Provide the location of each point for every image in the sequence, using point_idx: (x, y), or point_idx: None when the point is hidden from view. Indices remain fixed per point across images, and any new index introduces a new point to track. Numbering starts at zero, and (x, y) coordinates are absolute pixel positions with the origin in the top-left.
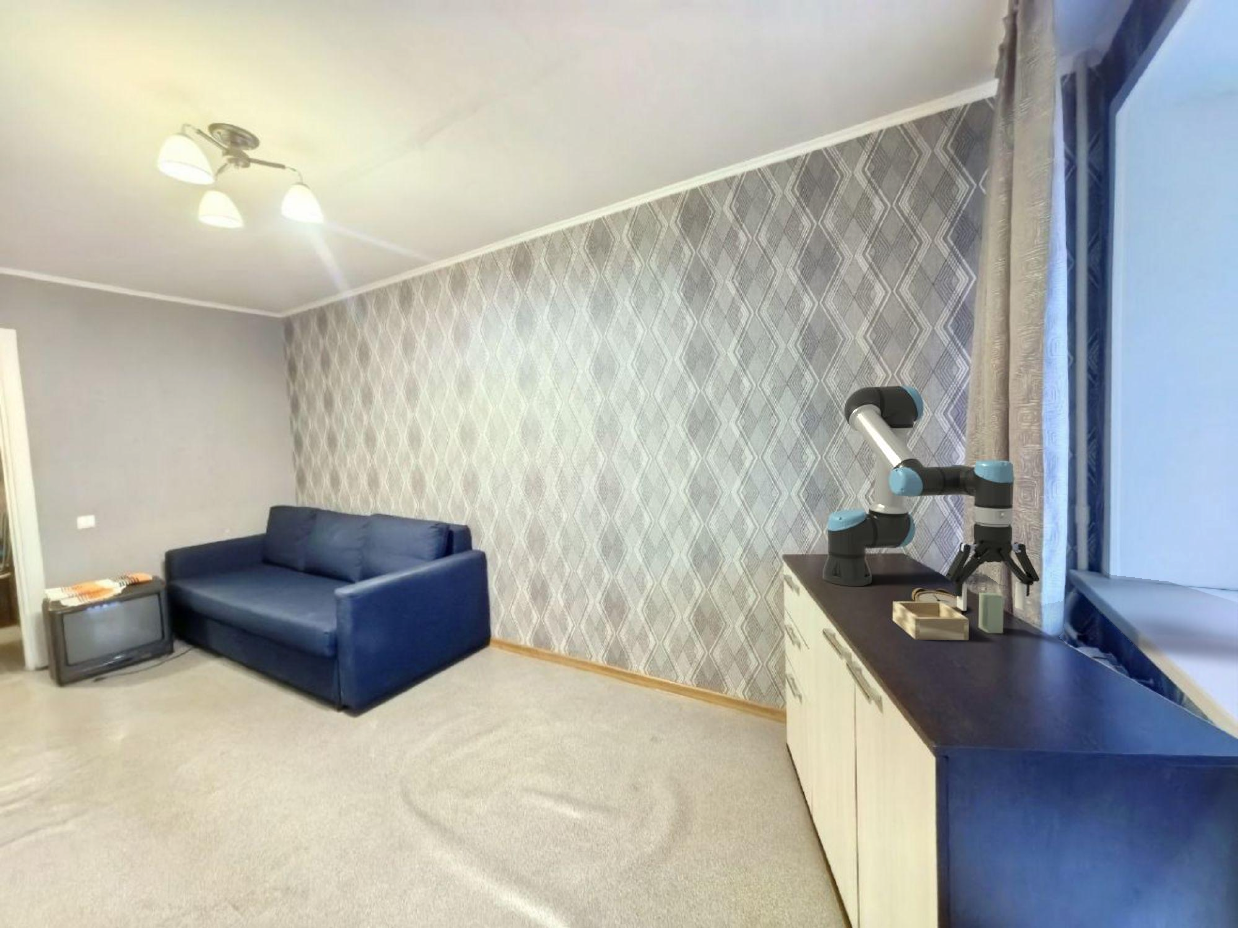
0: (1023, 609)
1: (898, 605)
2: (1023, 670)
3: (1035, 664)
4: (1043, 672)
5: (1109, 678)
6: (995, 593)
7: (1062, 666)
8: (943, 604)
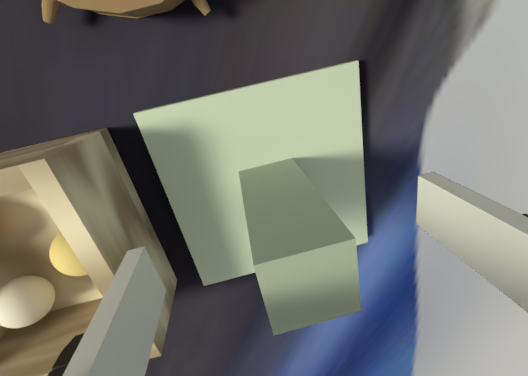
0: (424, 226)
1: None
2: (258, 366)
3: (296, 336)
4: (293, 361)
5: (396, 345)
6: (356, 249)
7: (345, 327)
8: (60, 208)
